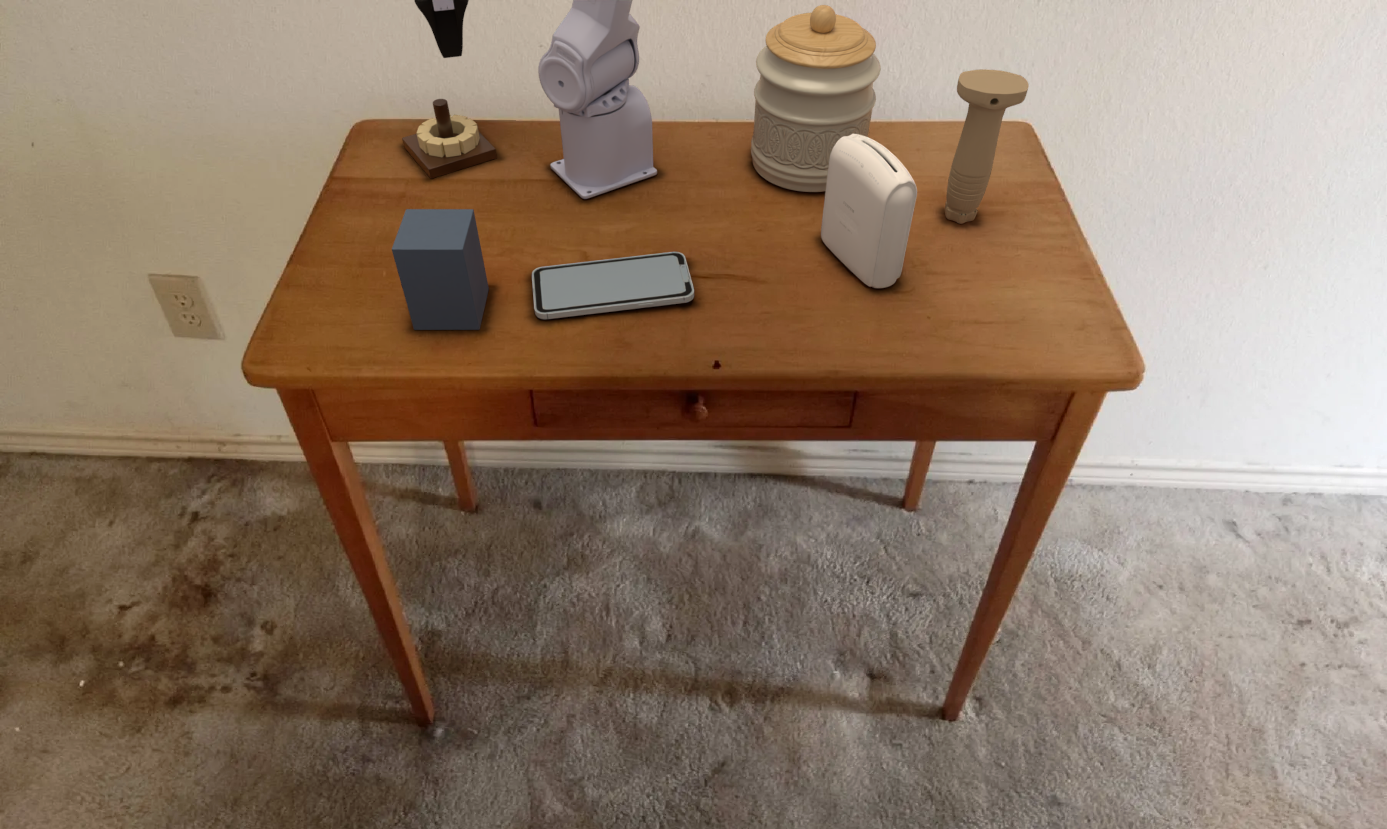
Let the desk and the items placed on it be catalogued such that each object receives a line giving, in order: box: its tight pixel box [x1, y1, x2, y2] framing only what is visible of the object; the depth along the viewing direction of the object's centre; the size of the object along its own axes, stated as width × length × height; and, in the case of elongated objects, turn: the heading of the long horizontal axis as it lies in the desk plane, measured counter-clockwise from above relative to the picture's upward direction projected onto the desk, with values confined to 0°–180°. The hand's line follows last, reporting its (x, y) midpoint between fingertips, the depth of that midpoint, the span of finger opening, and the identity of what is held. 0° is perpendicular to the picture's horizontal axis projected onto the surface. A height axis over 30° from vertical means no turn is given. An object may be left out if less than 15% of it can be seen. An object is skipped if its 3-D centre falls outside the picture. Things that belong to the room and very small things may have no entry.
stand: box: [401, 98, 498, 179], centre depth 103 cm, size 8×8×6 cm
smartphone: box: [531, 251, 695, 320], centre depth 88 cm, size 7×1×15 cm
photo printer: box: [820, 134, 918, 289], centre depth 87 cm, size 10×4×12 cm, turn 26°
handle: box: [944, 68, 1030, 225], centre depth 92 cm, size 5×6×15 cm
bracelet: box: [416, 114, 480, 157], centre depth 104 cm, size 7×7×2 cm
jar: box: [750, 4, 882, 193], centre depth 98 cm, size 13×13×18 cm
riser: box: [391, 208, 490, 331], centre depth 83 cm, size 6×6×9 cm
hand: (451, 49), depth 103 cm, fingers closed
